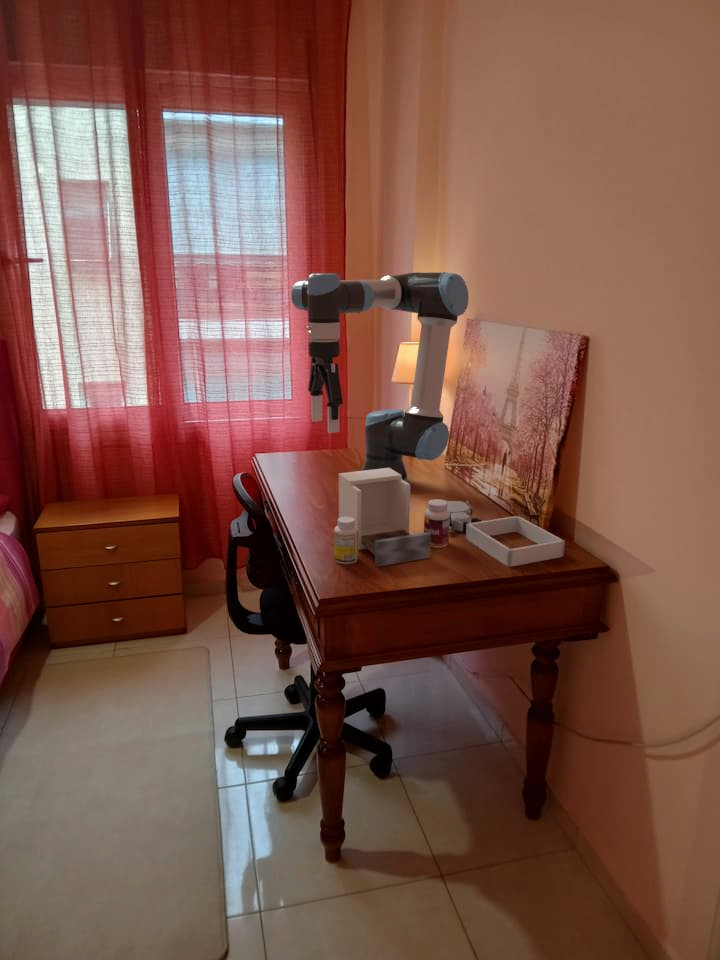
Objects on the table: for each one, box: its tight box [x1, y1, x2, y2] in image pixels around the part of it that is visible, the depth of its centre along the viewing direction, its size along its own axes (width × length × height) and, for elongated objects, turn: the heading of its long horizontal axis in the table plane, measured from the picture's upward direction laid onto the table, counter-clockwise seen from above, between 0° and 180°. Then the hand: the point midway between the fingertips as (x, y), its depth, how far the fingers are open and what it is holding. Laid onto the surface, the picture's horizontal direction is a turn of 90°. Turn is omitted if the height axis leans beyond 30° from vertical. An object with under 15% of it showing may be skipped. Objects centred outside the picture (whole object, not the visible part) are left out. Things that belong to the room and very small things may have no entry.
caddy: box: [338, 468, 411, 551], centre depth 171 cm, size 14×12×16 cm
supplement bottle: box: [333, 517, 359, 565], centre depth 158 cm, size 6×6×10 cm
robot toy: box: [425, 500, 483, 532], centre depth 182 cm, size 12×4×15 cm
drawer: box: [362, 529, 431, 568], centre depth 162 cm, size 14×12×6 cm
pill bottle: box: [423, 498, 450, 549], centre depth 167 cm, size 6×6×11 cm
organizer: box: [465, 515, 566, 568], centre depth 167 cm, size 16×19×4 cm
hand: (325, 426), depth 171 cm, fingers open, 13 cm apart
